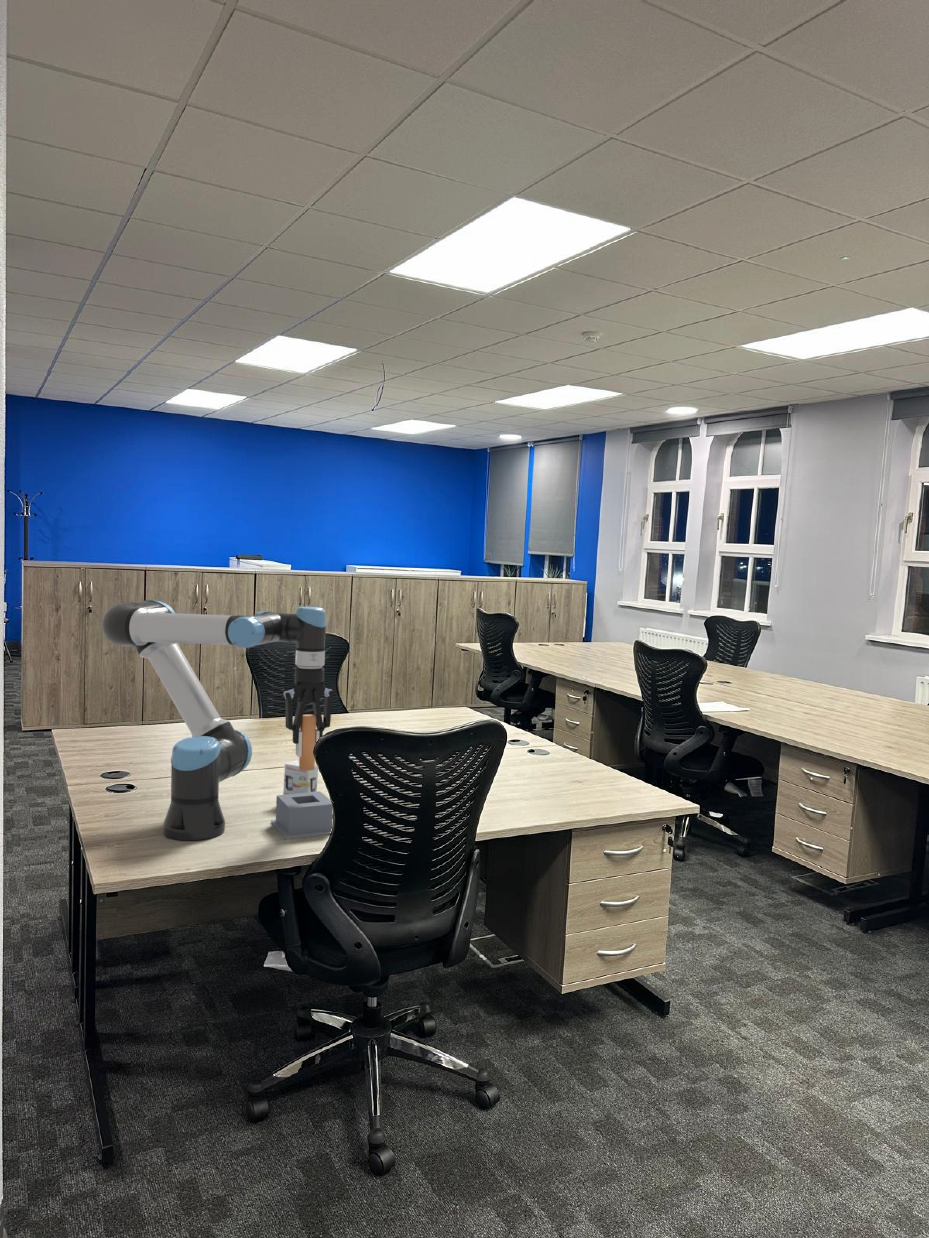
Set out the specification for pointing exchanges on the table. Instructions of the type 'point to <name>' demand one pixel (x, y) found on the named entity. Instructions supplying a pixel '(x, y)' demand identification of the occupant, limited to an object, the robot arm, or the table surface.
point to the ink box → (299, 779)
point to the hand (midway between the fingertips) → (307, 754)
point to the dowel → (308, 742)
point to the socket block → (303, 815)
